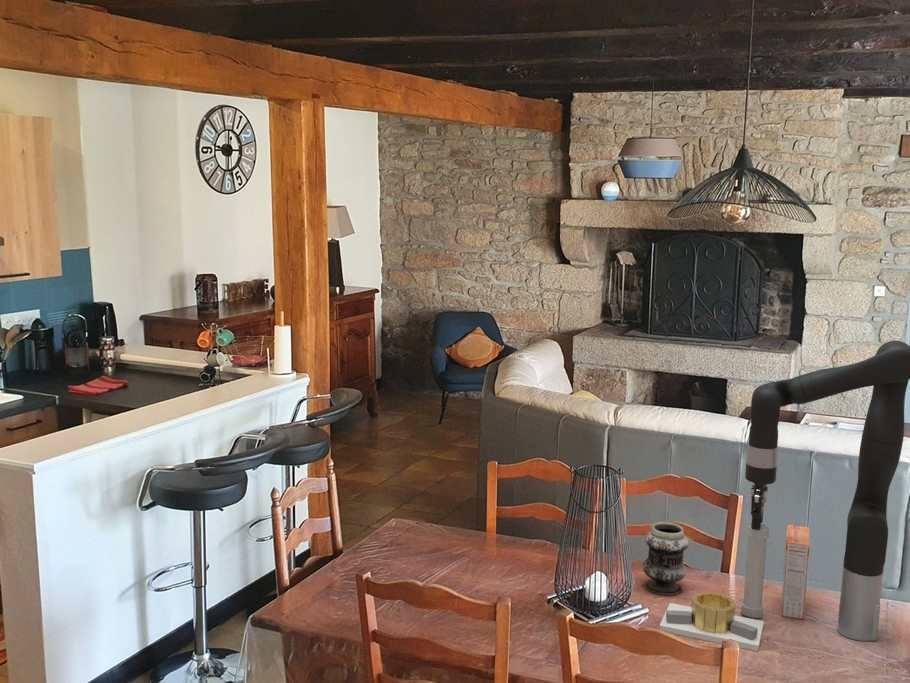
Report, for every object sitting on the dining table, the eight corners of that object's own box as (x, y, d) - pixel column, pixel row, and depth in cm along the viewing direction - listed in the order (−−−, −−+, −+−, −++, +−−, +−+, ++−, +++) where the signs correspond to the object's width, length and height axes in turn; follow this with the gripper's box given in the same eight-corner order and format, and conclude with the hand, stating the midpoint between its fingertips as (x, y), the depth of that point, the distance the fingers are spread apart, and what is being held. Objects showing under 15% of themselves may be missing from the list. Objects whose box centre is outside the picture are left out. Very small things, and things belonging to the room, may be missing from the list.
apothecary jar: (682, 600, 251) (686, 538, 248) (637, 592, 255) (641, 531, 252) (688, 583, 262) (692, 523, 259) (645, 575, 266) (649, 516, 263)
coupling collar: (735, 618, 237) (737, 597, 236) (730, 636, 228) (732, 613, 227) (694, 610, 241) (696, 589, 240) (688, 627, 232) (689, 605, 231)
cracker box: (781, 595, 255) (787, 523, 252) (804, 598, 253) (810, 526, 250) (779, 616, 242) (785, 541, 239) (804, 620, 240) (810, 545, 237)
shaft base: (763, 626, 237) (764, 612, 236) (758, 651, 224) (759, 636, 223) (669, 608, 246) (670, 594, 245) (659, 630, 233) (660, 616, 233)
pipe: (764, 619, 239) (772, 509, 234) (739, 617, 240) (746, 507, 235) (761, 610, 244) (769, 502, 239) (737, 607, 246) (744, 500, 241)
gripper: (774, 472, 228) (769, 537, 230) (779, 457, 241) (774, 519, 243) (743, 468, 231) (738, 532, 233) (749, 453, 243) (744, 514, 246)
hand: (756, 525), depth 238 cm, fingers closed on pipe, 5 cm apart
